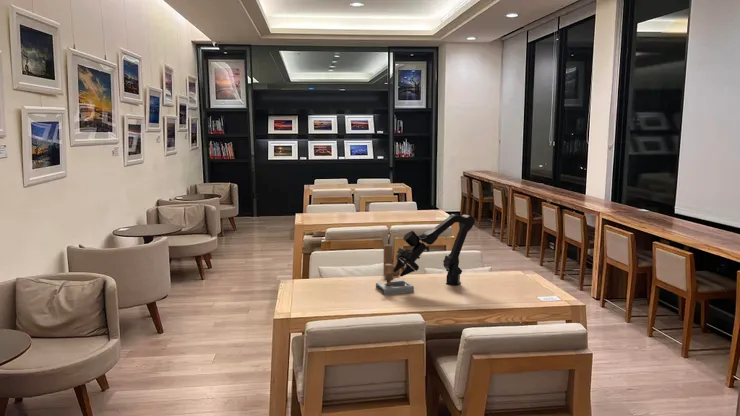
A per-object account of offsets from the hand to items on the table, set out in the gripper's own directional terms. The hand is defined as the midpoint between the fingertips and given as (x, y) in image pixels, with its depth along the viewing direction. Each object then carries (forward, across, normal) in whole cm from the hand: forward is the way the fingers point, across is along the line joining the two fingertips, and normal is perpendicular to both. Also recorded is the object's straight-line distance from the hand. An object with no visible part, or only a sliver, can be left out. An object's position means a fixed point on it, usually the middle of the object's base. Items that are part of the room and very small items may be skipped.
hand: (397, 273), depth 287 cm
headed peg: (+10, 0, +3) cm, 10 cm away
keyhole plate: (+7, 0, +5) cm, 9 cm away
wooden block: (+1, -28, +12) cm, 30 cm away
